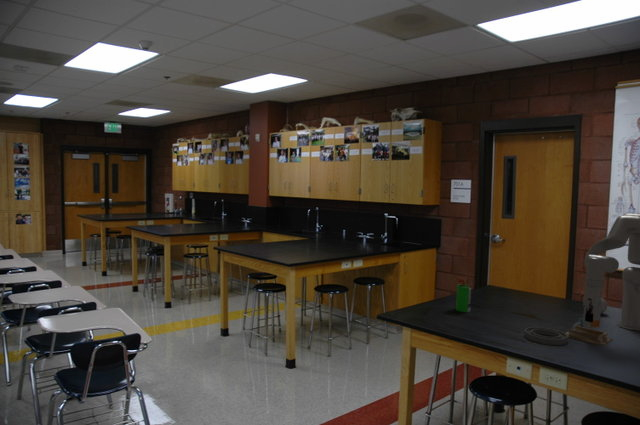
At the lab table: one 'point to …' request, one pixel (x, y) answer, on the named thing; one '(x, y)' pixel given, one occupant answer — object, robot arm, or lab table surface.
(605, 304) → the eye model
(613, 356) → the lab table surface
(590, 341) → the rest
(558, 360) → the lab table surface
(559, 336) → the mechanical component
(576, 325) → the gate
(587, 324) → the skincare box
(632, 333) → the lab table surface
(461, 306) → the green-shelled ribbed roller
